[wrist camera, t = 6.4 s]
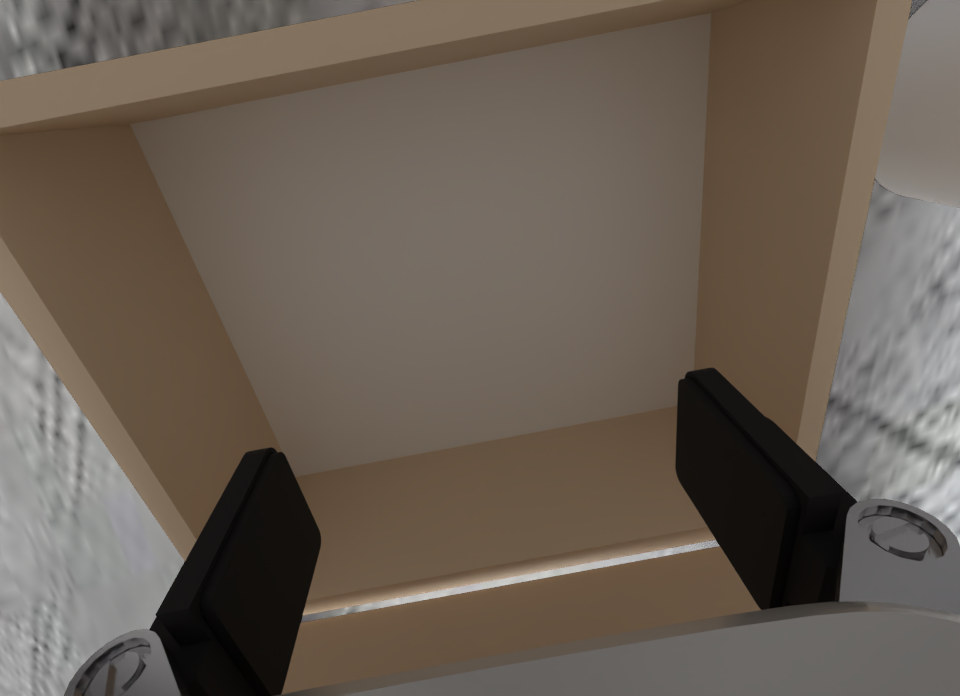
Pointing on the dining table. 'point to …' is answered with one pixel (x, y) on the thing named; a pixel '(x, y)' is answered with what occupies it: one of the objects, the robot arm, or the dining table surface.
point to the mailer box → (450, 262)
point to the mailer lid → (517, 618)
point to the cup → (926, 110)
